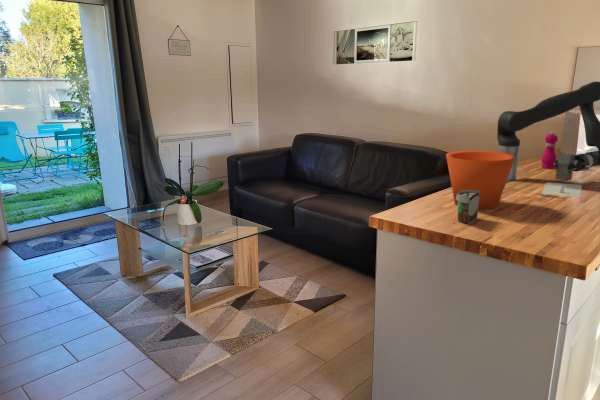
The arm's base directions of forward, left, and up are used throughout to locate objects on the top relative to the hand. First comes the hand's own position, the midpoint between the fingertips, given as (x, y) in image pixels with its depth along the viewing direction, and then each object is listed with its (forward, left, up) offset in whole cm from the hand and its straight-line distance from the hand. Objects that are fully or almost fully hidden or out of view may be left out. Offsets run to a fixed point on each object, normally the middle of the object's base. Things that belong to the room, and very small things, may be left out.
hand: (562, 166), depth 191 cm
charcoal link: (+2, +2, -6) cm, 7 cm away
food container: (-56, -39, -11) cm, 69 cm away
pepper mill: (+22, +49, -11) cm, 55 cm away
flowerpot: (-44, -19, -11) cm, 49 cm away
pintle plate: (-1, -3, -11) cm, 11 cm away
